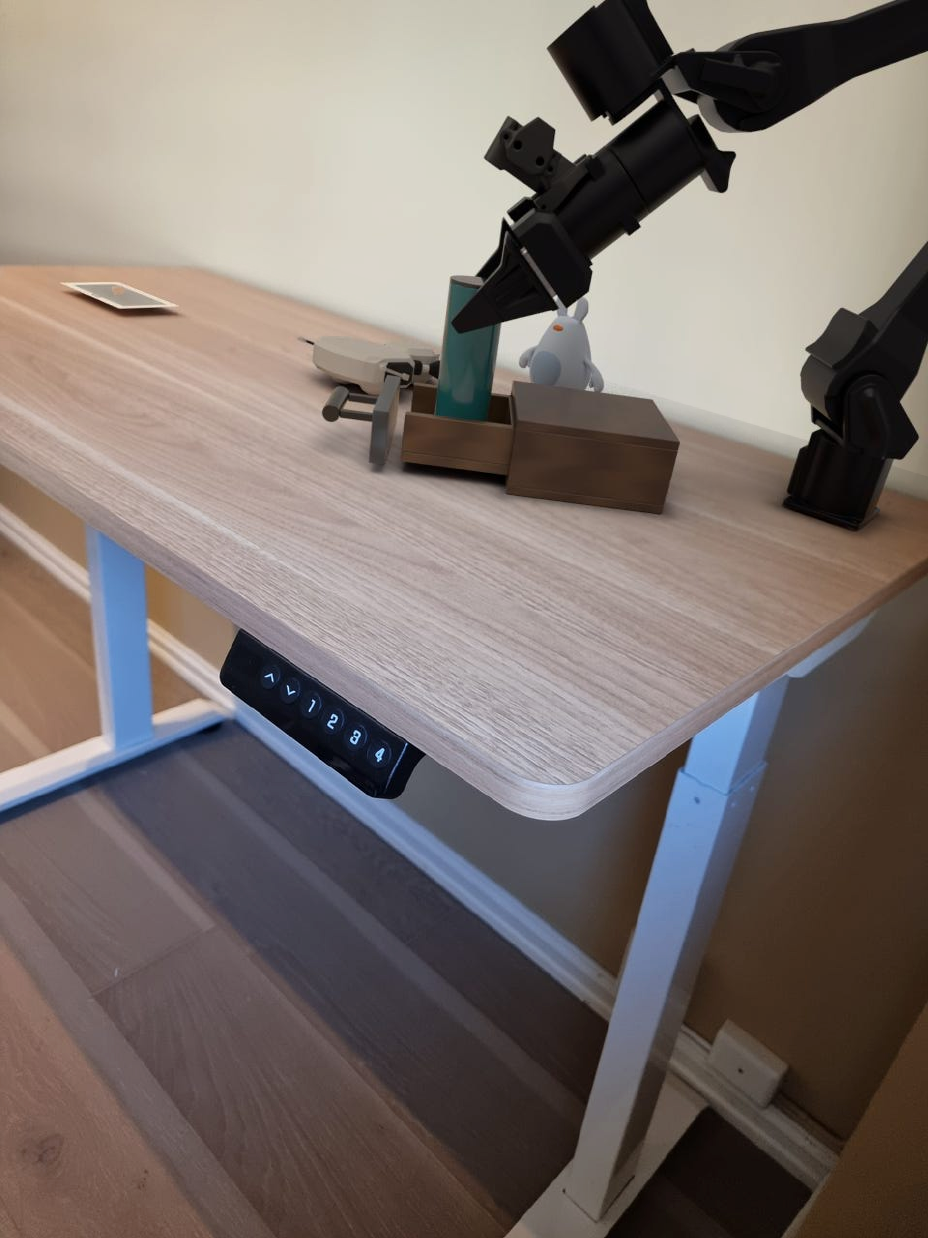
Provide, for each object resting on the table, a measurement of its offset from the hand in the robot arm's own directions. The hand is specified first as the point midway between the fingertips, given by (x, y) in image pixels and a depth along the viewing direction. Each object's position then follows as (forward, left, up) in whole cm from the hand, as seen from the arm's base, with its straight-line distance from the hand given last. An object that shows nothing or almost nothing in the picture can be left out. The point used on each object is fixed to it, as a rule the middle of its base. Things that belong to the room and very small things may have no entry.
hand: (456, 316), depth 69 cm
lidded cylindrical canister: (-1, -1, -10) cm, 10 cm away
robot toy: (+18, -13, -12) cm, 25 cm away
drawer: (+1, +1, -11) cm, 11 cm away
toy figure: (+2, -21, -12) cm, 24 cm away
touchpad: (+60, -9, -12) cm, 62 cm away
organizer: (-9, -7, -12) cm, 17 cm away
